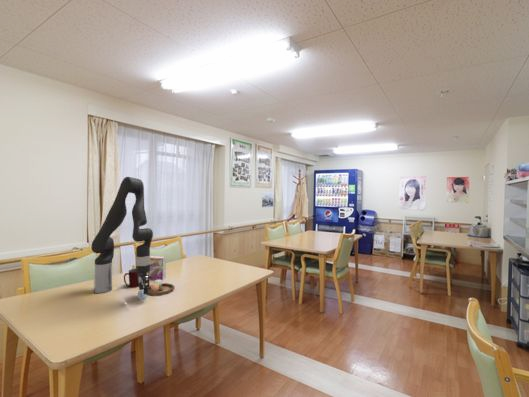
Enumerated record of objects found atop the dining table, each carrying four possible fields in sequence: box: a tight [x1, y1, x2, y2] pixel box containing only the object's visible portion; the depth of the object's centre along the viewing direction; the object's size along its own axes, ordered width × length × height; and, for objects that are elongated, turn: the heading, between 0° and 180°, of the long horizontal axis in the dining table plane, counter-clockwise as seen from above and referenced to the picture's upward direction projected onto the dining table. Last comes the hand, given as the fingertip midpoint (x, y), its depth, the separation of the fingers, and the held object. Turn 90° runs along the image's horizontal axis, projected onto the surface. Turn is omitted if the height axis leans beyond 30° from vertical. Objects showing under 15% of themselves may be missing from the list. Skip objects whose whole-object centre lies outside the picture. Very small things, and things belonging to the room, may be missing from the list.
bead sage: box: [153, 279, 163, 287], centre depth 166 cm, size 4×4×5 cm
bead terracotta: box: [150, 282, 159, 292], centre depth 159 cm, size 4×4×5 cm
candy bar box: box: [147, 255, 167, 281], centre depth 185 cm, size 11×5×16 cm, turn 84°
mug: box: [123, 268, 140, 289], centre depth 170 cm, size 12×9×11 cm
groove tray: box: [146, 282, 175, 297], centre depth 163 cm, size 16×16×3 cm
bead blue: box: [137, 290, 147, 301], centre depth 151 cm, size 4×4×5 cm
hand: (143, 291), depth 151 cm, fingers open, 8 cm apart
